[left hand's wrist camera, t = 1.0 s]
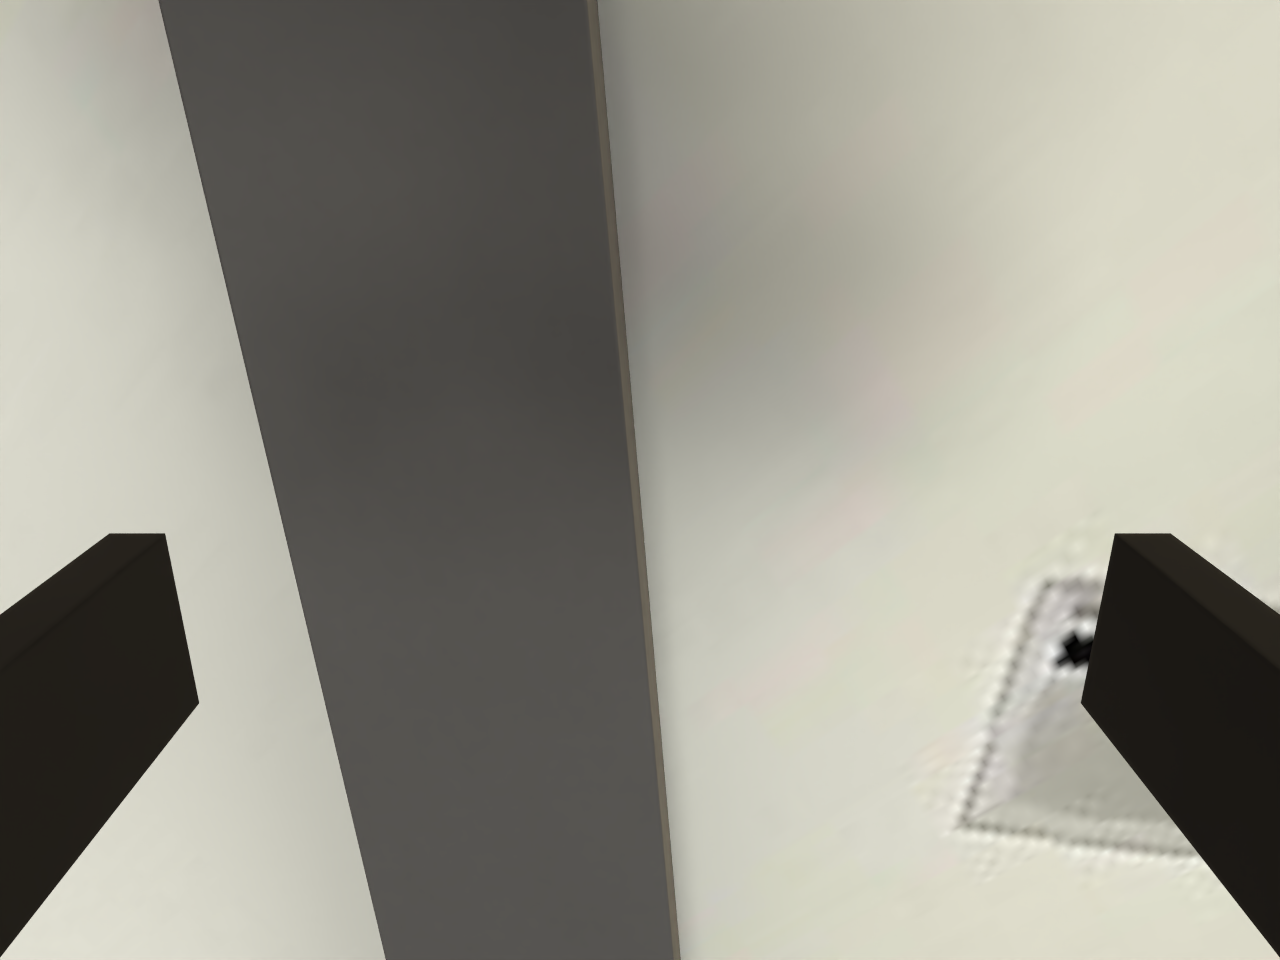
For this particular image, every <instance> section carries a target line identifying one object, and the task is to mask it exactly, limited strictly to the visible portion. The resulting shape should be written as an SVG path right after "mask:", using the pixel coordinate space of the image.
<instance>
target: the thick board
mask: <svg viewBox="0 0 1280 960" xmlns="http://www.w3.org/2000/svg"><path fill="white" fill-rule="evenodd" d="M159 4H160V9H161V13H162V17H163V21H164V26H165V30H166V34H167V38H168V42H169V47H170V51H171V55H172V59H173V64H174V68H175V72H176V76H177V80H178V85H179V89H180V93H181V97H182V101H183V106H184V110H185V114H186V118H187V123H188V127H189V131H190V135H191V139H192V144H193V148H194V152H195V156H196V161H197V165H198V169H199V173H200V177H201V182H202V186H203V190H204V194H205V198H206V203H207V207H208V211H209V215H210V220H211V224H212V228H213V232H214V236H215V241H216V245H217V249H218V253H219V258H220V262H221V266H222V270H223V274H224V279H225V283H226V287H227V291H228V295H229V300H230V304H231V308H232V312H233V317H234V321H235V325H236V329H237V333H238V338H239V342H240V346H241V350H242V355H243V359H244V363H245V367H246V371H247V376H248V380H249V384H250V388H251V392H252V397H253V401H254V405H255V409H256V414H257V418H258V422H259V426H260V430H261V435H262V439H263V443H264V447H265V452H266V456H267V460H268V464H269V468H270V473H271V477H272V481H273V485H274V489H275V494H276V498H277V502H278V506H279V511H280V515H281V519H282V523H283V527H284V532H285V536H286V540H287V544H288V549H289V553H290V557H291V561H292V565H293V570H294V574H295V578H296V582H297V586H298V591H299V595H300V599H301V603H302V608H303V612H304V616H305V620H306V624H307V629H308V633H309V637H310V641H311V646H312V650H313V654H314V658H315V662H316V667H317V671H318V675H319V679H320V684H321V688H322V692H323V696H324V700H325V705H326V709H327V713H328V717H329V721H330V726H331V730H332V734H333V738H334V743H335V747H336V751H337V755H338V759H339V764H340V768H341V772H342V776H343V781H344V785H345V789H346V793H347V797H348V802H349V806H350V810H351V814H352V818H353V823H354V827H355V831H356V835H357V840H358V844H359V848H360V852H361V856H362V861H363V865H364V869H365V873H366V878H367V882H368V886H369V890H370V894H371V899H372V903H373V907H374V911H375V915H376V920H377V924H378V928H379V932H380V937H381V941H382V945H383V949H384V953H385V958H386V960H681V959H680V948H679V936H678V925H677V913H676V902H675V890H674V879H673V867H672V856H671V844H670V833H669V821H668V810H667V798H666V787H665V775H664V764H663V752H662V741H661V729H660V718H659V706H658V695H657V683H656V672H655V661H654V649H653V638H652V626H651V615H650V603H649V592H648V580H647V569H646V557H645V546H644V534H643V523H642V511H641V500H640V488H639V477H638V465H637V454H636V442H635V431H634V419H633V408H632V396H631V385H630V373H629V362H628V350H627V339H626V327H625V316H624V304H623V293H622V281H621V270H620V258H619V247H618V235H617V224H616V212H615V201H614V189H613V178H612V166H611V155H610V144H609V132H608V121H607V109H606V98H605V86H604V75H603V63H602V52H601V40H600V29H599V17H598V6H597V0H159Z"/></svg>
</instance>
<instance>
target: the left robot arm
mask: <svg viewBox="0 0 1280 960" xmlns="http://www.w3.org/2000/svg"><path fill="white" fill-rule="evenodd" d="M198 704H199V700H198V695H197V690H196V685H195V680H194V675H193V670H192V665H191V660H190V655H189V650H188V645H187V640H186V635H185V630H184V625H183V620H182V615H181V610H180V606H179V601H178V596H177V591H176V586H175V581H174V576H173V571H172V566H171V561H170V556H169V551H168V546H167V541H166V536H165V534H108V535H107V536H106V537H104V538H103V539H102V540H100V541H99V542H97V543H96V544H95V545H93V546H92V547H91V548H89V549H88V550H87V551H85V552H84V553H83V554H81V555H80V556H79V557H77V558H76V559H75V560H73V561H72V562H71V563H69V564H68V565H67V566H65V567H64V568H62V569H61V570H60V571H58V572H57V573H56V574H54V575H53V576H52V577H50V578H49V579H48V580H46V581H45V582H44V583H42V584H41V585H40V586H38V587H37V588H36V589H34V590H33V591H32V592H30V593H29V594H27V595H26V596H25V597H23V598H22V599H21V600H19V601H18V602H17V603H15V604H14V605H13V606H11V607H10V608H9V609H7V610H6V611H5V612H3V613H2V614H1V615H0V957H1V956H2V954H3V953H4V952H5V951H6V949H7V948H8V947H9V945H10V944H11V943H12V942H13V940H14V939H15V938H16V937H17V935H18V934H19V933H20V931H21V930H22V929H23V928H24V926H25V925H26V924H27V922H28V921H29V920H30V919H31V917H32V916H33V915H34V913H35V912H36V911H37V910H38V908H39V907H40V906H41V905H42V903H43V902H44V901H45V899H46V898H47V897H48V896H49V894H50V893H51V892H52V890H53V889H54V888H55V887H56V885H57V884H58V883H59V882H60V880H61V879H62V878H63V876H64V875H65V874H66V873H67V871H68V870H69V869H70V867H71V866H72V865H73V864H74V862H75V861H76V860H77V859H78V857H79V856H80V855H81V853H82V852H83V851H84V850H85V848H86V847H87V846H88V844H89V843H90V842H91V841H92V839H93V838H94V837H95V836H96V834H97V833H98V832H99V830H100V829H101V828H102V827H103V825H104V824H105V823H106V821H107V820H108V819H109V818H110V816H111V815H112V814H113V813H114V811H115V810H116V809H117V807H118V806H119V805H120V804H121V802H122V801H123V800H124V798H125V797H126V796H127V795H128V793H129V792H130V791H131V790H132V788H133V787H134V786H135V784H136V783H137V782H138V781H139V779H140V778H141V777H142V775H143V774H144V773H145V772H146V770H147V769H148V768H149V767H150V765H151V764H152V763H153V761H154V760H155V759H156V758H157V756H158V755H159V754H160V752H161V751H162V750H163V749H164V747H165V746H166V745H167V743H168V742H169V741H170V740H171V738H172V737H173V736H174V735H175V733H176V732H177V731H178V729H179V728H180V727H181V726H182V724H183V723H184V722H185V720H186V719H187V718H188V717H189V715H190V714H191V713H192V712H193V710H194V709H195V708H196V706H197V705H198ZM1081 704H1082V705H1083V706H1084V708H1085V709H1086V710H1087V712H1088V713H1089V714H1090V715H1091V717H1092V718H1093V719H1094V720H1095V722H1096V723H1097V724H1098V726H1099V727H1100V728H1101V729H1102V731H1103V732H1104V733H1105V735H1106V736H1107V737H1108V738H1109V740H1110V741H1111V742H1112V744H1113V745H1114V746H1115V747H1116V749H1117V750H1118V751H1119V752H1120V754H1121V755H1122V756H1123V758H1124V759H1125V760H1126V761H1127V763H1128V764H1129V765H1130V767H1131V768H1132V769H1133V770H1134V772H1135V773H1136V774H1137V775H1138V777H1139V778H1140V779H1141V781H1142V782H1143V783H1144V784H1145V786H1146V787H1147V788H1148V790H1149V791H1150V792H1151V793H1152V795H1153V796H1154V797H1155V798H1156V800H1157V801H1158V802H1159V804H1160V805H1161V806H1162V807H1163V809H1164V810H1165V811H1166V813H1167V814H1168V815H1169V816H1170V818H1171V819H1172V820H1173V821H1174V823H1175V824H1176V825H1177V827H1178V828H1179V829H1180V830H1181V832H1182V833H1183V834H1184V836H1185V837H1186V838H1187V839H1188V841H1189V842H1190V843H1191V844H1192V846H1193V847H1194V848H1195V850H1196V851H1197V852H1198V853H1199V855H1200V856H1201V857H1202V859H1203V860H1204V861H1205V862H1206V864H1207V865H1208V866H1209V867H1210V869H1211V870H1212V871H1213V873H1214V874H1215V875H1216V876H1217V878H1218V879H1219V880H1220V882H1221V883H1222V884H1223V885H1224V887H1225V888H1226V889H1227V890H1228V892H1229V893H1230V894H1231V896H1232V897H1233V898H1234V899H1235V901H1236V902H1237V903H1238V905H1239V906H1240V907H1241V908H1242V910H1243V911H1244V912H1245V913H1246V915H1247V916H1248V917H1249V919H1250V920H1251V921H1252V922H1253V924H1254V925H1255V926H1256V928H1257V929H1258V930H1259V931H1260V933H1261V934H1262V935H1263V937H1264V938H1265V939H1266V940H1267V942H1268V943H1269V944H1270V945H1271V947H1272V948H1273V949H1274V951H1275V952H1276V953H1277V954H1278V956H1279V957H1280V615H1279V614H1278V613H1277V612H1275V611H1274V610H1273V609H1271V608H1270V607H1269V606H1267V605H1266V604H1265V603H1263V602H1262V601H1261V600H1259V599H1258V598H1257V597H1255V596H1254V595H1253V594H1251V593H1250V592H1248V591H1247V590H1246V589H1244V588H1243V587H1242V586H1240V585H1239V584H1238V583H1236V582H1235V581H1234V580H1232V579H1231V578H1230V577H1228V576H1227V575H1226V574H1224V573H1223V572H1222V571H1220V570H1219V569H1218V568H1216V567H1215V566H1213V565H1212V564H1211V563H1209V562H1208V561H1207V560H1205V559H1204V558H1203V557H1201V556H1200V555H1199V554H1197V553H1196V552H1195V551H1193V550H1192V549H1191V548H1189V547H1188V546H1187V545H1185V544H1184V543H1183V542H1181V541H1180V540H1178V539H1177V538H1176V537H1174V536H1173V535H1172V534H1115V536H1114V541H1113V546H1112V551H1111V556H1110V561H1109V566H1108V571H1107V576H1106V581H1105V586H1104V591H1103V596H1102V601H1101V605H1100V610H1099V615H1098V620H1097V625H1096V630H1095V635H1094V640H1093V645H1092V650H1091V655H1090V660H1089V665H1088V670H1087V675H1086V680H1085V685H1084V690H1083V695H1082V700H1081Z"/></svg>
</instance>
